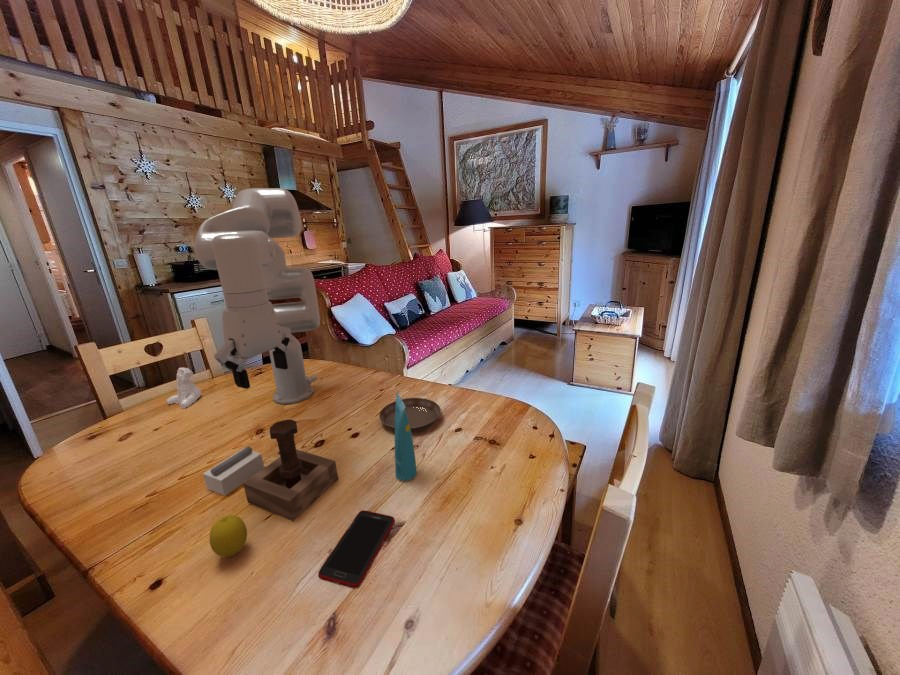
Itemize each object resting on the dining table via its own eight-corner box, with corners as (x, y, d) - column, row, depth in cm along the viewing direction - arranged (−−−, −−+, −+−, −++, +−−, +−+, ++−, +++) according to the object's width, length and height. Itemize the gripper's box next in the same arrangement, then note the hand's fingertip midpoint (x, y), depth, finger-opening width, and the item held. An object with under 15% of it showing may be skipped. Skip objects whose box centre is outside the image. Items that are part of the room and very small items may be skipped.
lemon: (225, 541, 67) (215, 507, 65) (256, 538, 68) (247, 504, 65) (209, 568, 62) (197, 532, 60) (242, 565, 62) (232, 529, 60)
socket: (295, 465, 88) (292, 447, 86) (338, 479, 82) (335, 461, 81) (247, 502, 76) (242, 483, 75) (293, 521, 71) (289, 501, 70)
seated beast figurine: (165, 404, 120) (154, 371, 116) (191, 393, 127) (182, 361, 123) (184, 409, 116) (174, 375, 112) (209, 397, 124) (201, 365, 120)
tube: (421, 480, 81) (416, 404, 75) (401, 487, 79) (394, 409, 73) (410, 461, 88) (405, 390, 82) (391, 468, 86) (384, 394, 80)
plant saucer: (377, 411, 112) (376, 402, 111) (433, 401, 117) (432, 393, 116) (383, 443, 96) (382, 433, 95) (448, 431, 100) (447, 421, 99)
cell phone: (316, 579, 60) (315, 574, 60) (361, 512, 73) (360, 509, 73) (357, 591, 58) (357, 586, 58) (396, 520, 71) (395, 516, 71)
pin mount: (247, 461, 90) (242, 442, 88) (264, 467, 87) (259, 447, 85) (207, 488, 81) (200, 467, 79) (225, 495, 79) (219, 474, 77)
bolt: (312, 478, 82) (302, 419, 77) (301, 494, 77) (290, 432, 72) (287, 477, 82) (276, 419, 78) (275, 493, 77) (262, 432, 73)
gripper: (269, 288, 81) (282, 360, 86) (190, 308, 66) (213, 392, 71) (294, 291, 78) (307, 364, 83) (218, 311, 63) (239, 399, 69)
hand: (263, 377), depth 77 cm, fingers open, 9 cm apart
